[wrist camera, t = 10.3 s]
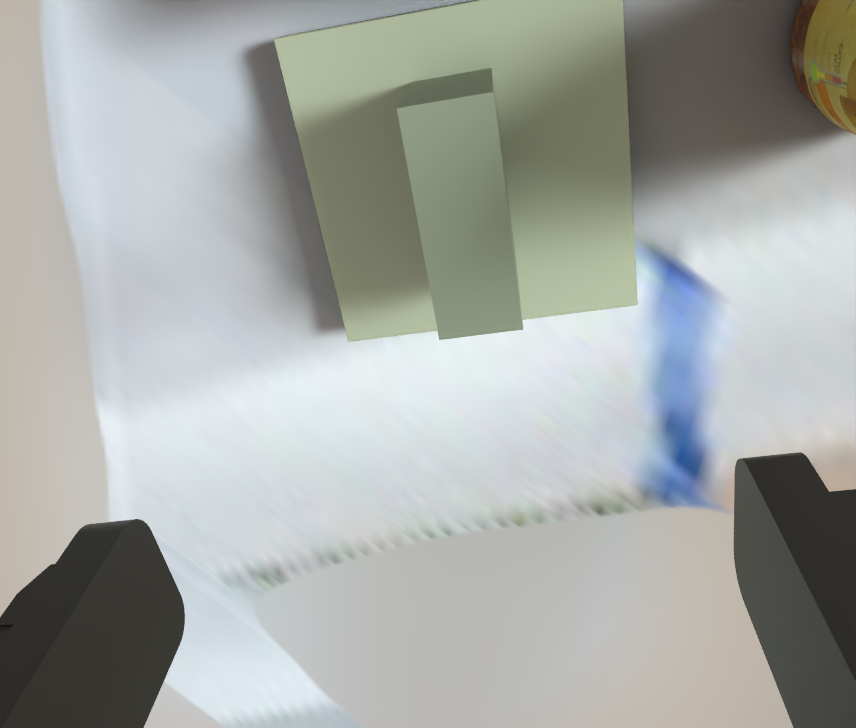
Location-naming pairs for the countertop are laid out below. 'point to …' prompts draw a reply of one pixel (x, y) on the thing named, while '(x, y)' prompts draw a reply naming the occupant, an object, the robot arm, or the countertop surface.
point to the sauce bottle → (827, 58)
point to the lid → (469, 163)
